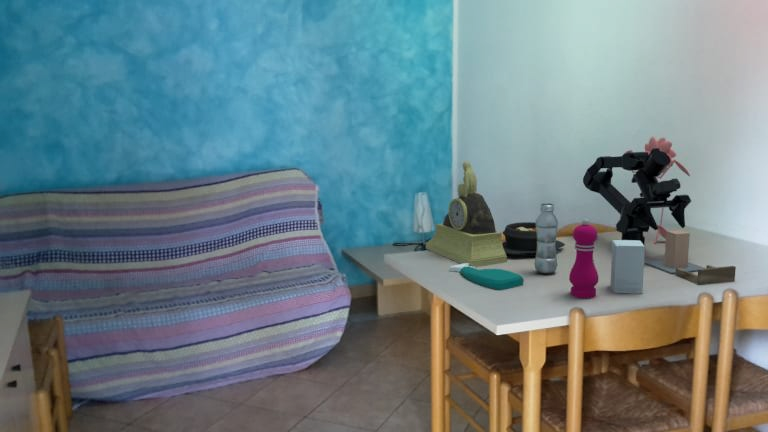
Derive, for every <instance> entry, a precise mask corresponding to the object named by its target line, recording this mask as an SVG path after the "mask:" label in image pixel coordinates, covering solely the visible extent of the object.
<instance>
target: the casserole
mask: <svg viewBox="0 0 768 432" xmlns="http://www.w3.org/2000/svg"><path fill="white" fill-rule="evenodd" d="M502 234H503V236H504V239H505V241H502V245H503V249H504V251H505V253H506V255H507V254H508V255H520V256H527V257H528V256H530V257H531V256H536V251H537V233H536V224H535V222H530V221H529V222H527V221H526V222H523V221H522V222H515V223H510V224H507V225H506V226H505V227H504V230H503V231H502ZM564 246H566V244H565V242H562V241H560V240H557V239H556V251H557V250H559V248H562V247H564Z"/></svg>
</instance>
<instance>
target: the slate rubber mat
mask: <svg viewBox="0 0 768 432" xmlns="http://www.w3.org/2000/svg"><path fill="white" fill-rule="evenodd" d="M664 261H665V260H658V261H647V262H646V261H645V262H644V265H647V266H650V267H652V268H655V269H657V270H660V271H662V272H665V273H667V274H669V275H676V268H673V267H670V266H667V265H665V264H664ZM680 269H683V270H686V271H688V272H691V273H695V272H696V273H698V269H706V267H703V266H701V265H698V264H695V263H692V262H689V261H688V267H681V268H680Z"/></svg>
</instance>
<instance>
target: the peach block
mask: <svg viewBox="0 0 768 432" xmlns="http://www.w3.org/2000/svg"><path fill="white" fill-rule="evenodd" d="M690 234H691V233H690V232H687V231H684V230H681V229H673V230H666V239H665V243H664V244H665V247H664V249H665V250H664V260H663V261H664V264H665V265H667V266H670V267H673V268H681V267H688V262H689V251H690V250H689V249H690V236H691V235H690Z"/></svg>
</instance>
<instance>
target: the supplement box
mask: <svg viewBox="0 0 768 432" xmlns="http://www.w3.org/2000/svg"><path fill="white" fill-rule="evenodd" d="M645 249H646V245H643V243H642V242H641V241H639V240H621V239H613V240H612V242H611V259H610V260H611V261H610V264H611V265H610V288H611V290H612V292H613V293H615V294H616V293H617V294H638V295H641V294H643V290H644V267H645V251H646V250H645Z"/></svg>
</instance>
